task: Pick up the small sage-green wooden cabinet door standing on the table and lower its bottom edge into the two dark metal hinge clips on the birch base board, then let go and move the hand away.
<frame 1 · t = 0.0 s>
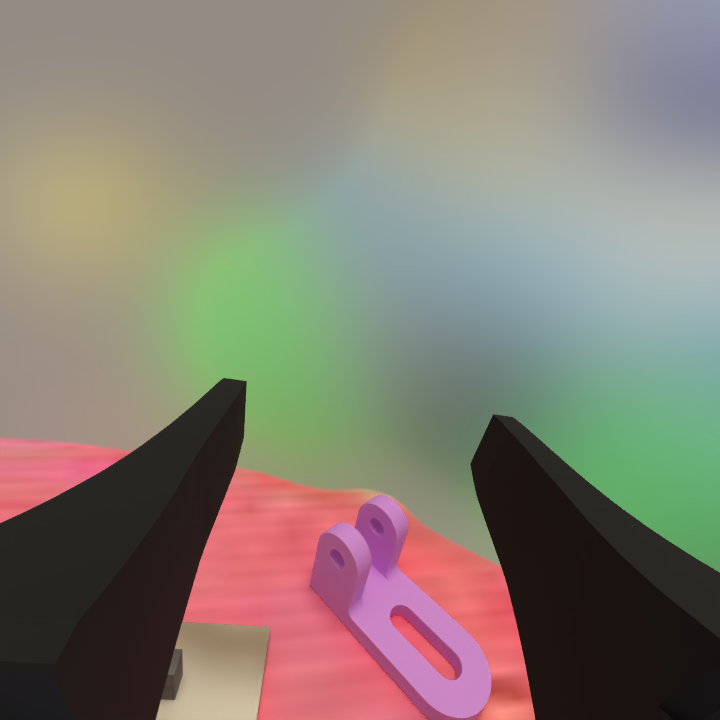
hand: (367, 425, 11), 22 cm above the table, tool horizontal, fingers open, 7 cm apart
bracket: (397, 631, 28), on the table
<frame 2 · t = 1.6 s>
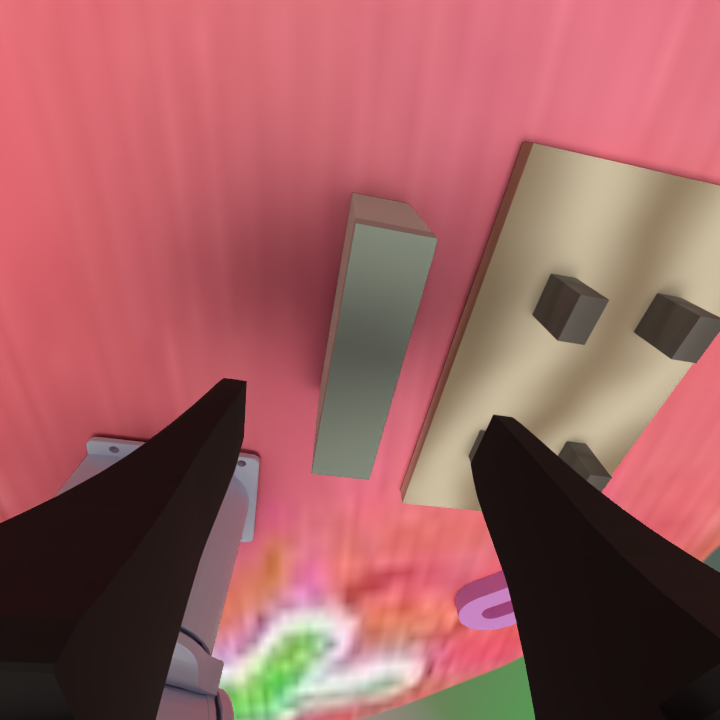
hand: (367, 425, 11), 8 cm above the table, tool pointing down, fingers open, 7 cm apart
door: (358, 307, 19), on the table
hinge base: (553, 375, 21), on the table
bracket: (529, 577, 32), on the table
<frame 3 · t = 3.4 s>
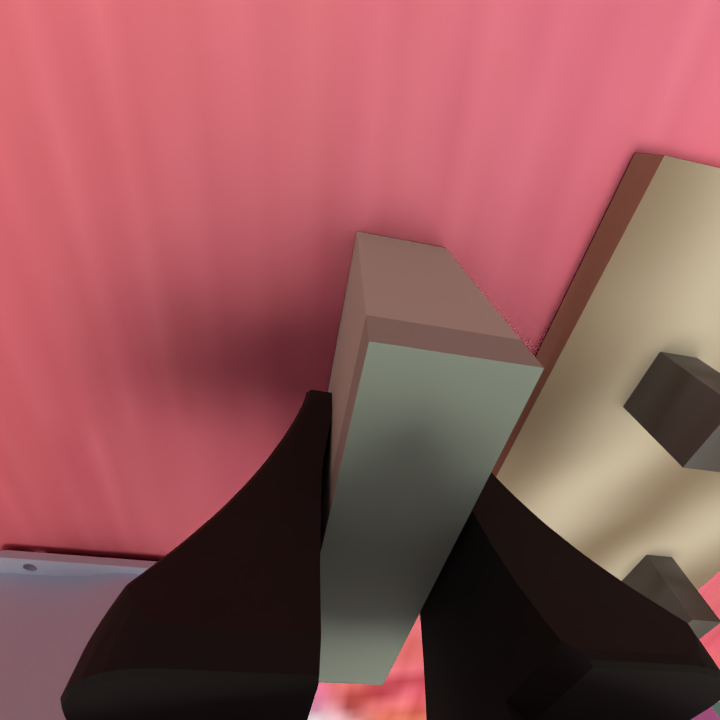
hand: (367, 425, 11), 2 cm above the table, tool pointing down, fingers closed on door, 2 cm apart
door: (365, 392, 13), on the table, touching gripper
hinge base: (633, 472, 15), on the table
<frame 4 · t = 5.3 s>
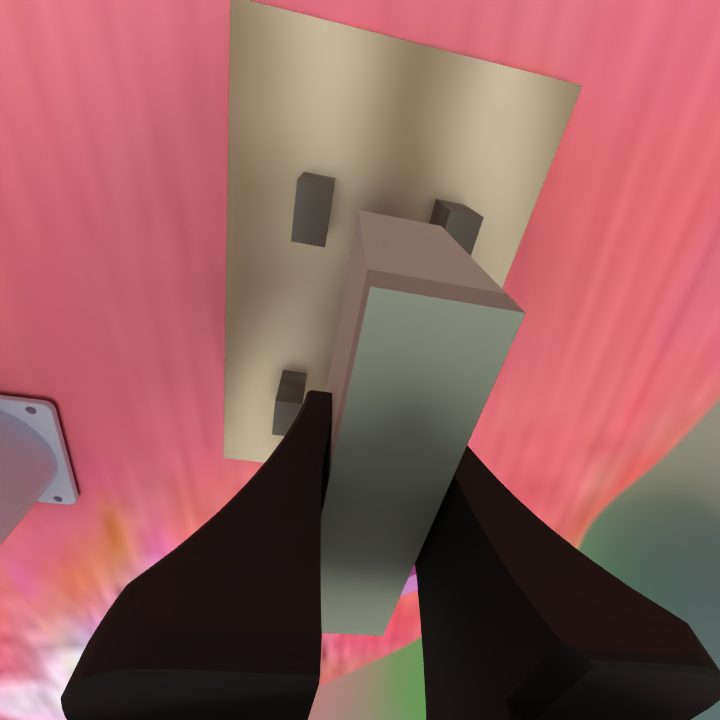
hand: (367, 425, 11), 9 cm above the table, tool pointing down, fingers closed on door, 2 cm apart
door: (365, 367, 13), point 6 cm above the table, touching gripper
hinge base: (359, 307, 19), on the table
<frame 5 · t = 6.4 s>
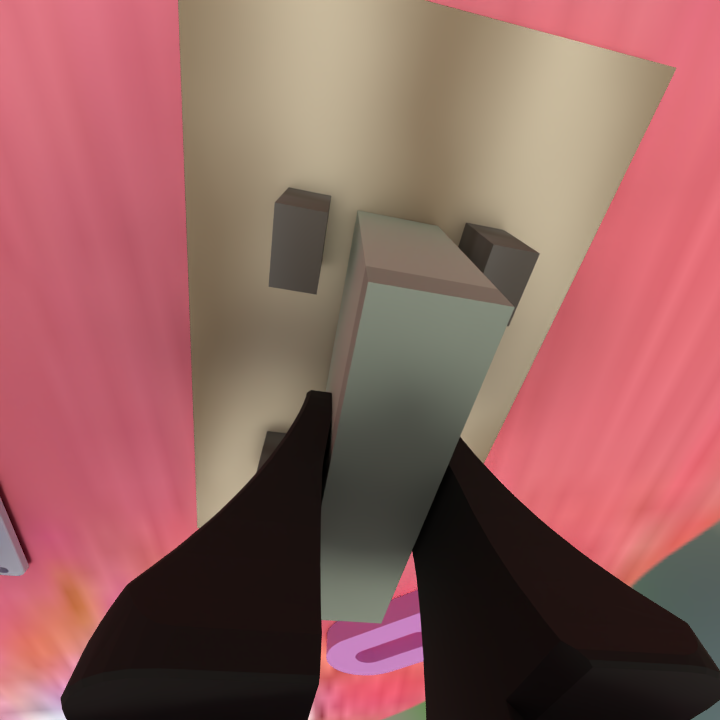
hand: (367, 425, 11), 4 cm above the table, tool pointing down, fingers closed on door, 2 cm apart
door: (364, 363, 14), point 1 cm above the table, touching gripper
hinge base: (362, 354, 15), on the table
bracket: (415, 611, 25), on the table
when the fingers open (4 cm above the table, at t = 7.0 s): door stays where it is, resting on hinge base.
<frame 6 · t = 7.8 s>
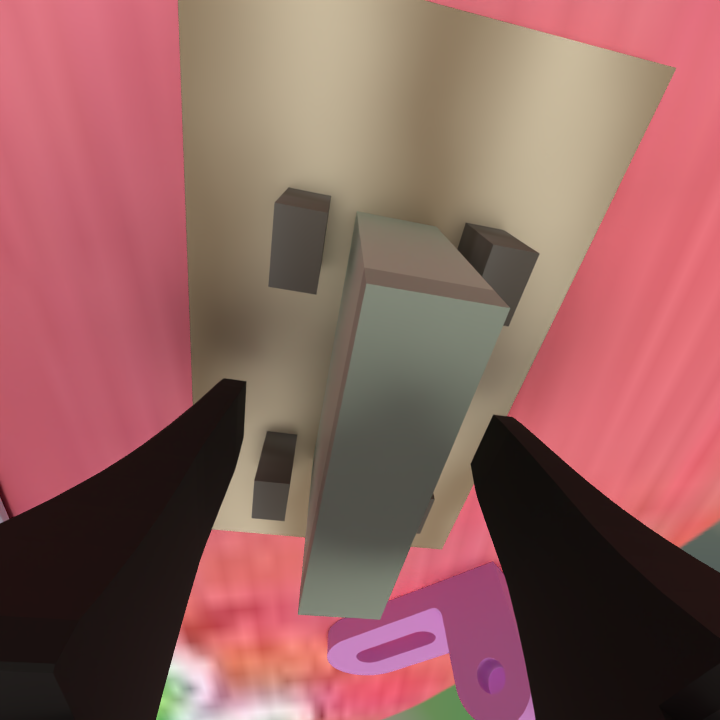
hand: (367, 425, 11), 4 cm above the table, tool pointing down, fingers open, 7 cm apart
door: (364, 363, 14), point 1 cm above the table, touching hinge base
hinge base: (362, 354, 15), on the table
bracket: (416, 611, 25), on the table
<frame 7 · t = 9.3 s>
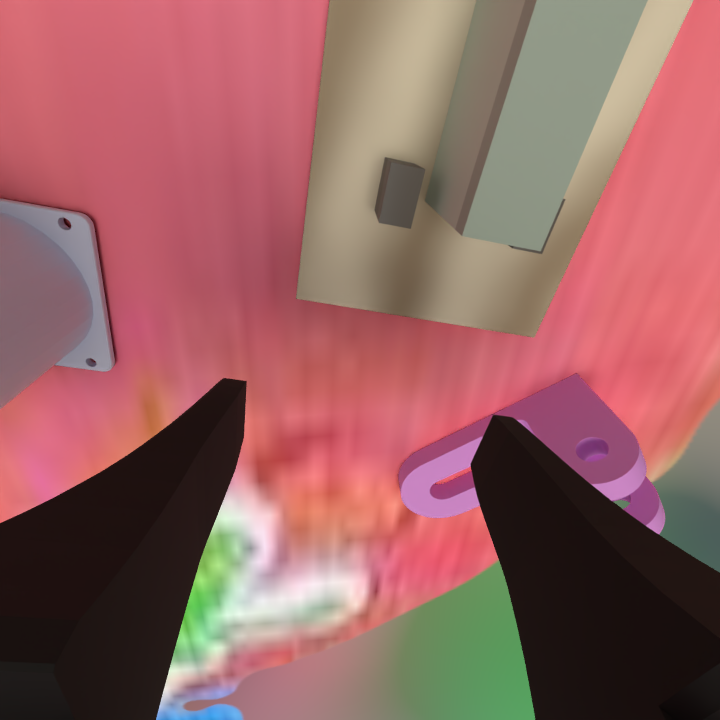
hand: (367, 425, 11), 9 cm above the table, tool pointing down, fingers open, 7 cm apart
door: (495, 59, 14), point 1 cm above the table, touching hinge base
hinge base: (485, 70, 15), on the table
bracket: (489, 447, 25), on the table
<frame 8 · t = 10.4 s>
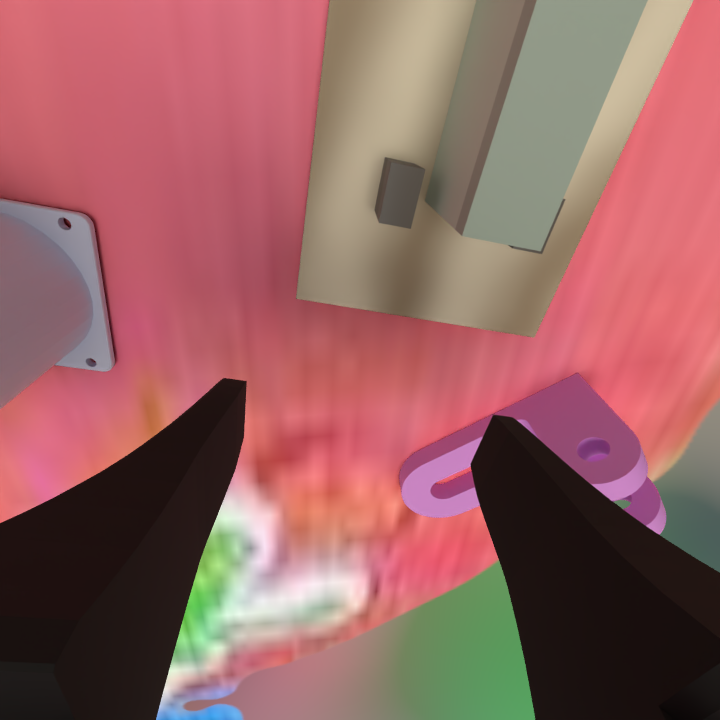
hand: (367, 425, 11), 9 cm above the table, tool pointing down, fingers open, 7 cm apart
door: (495, 59, 14), point 1 cm above the table, touching hinge base
hinge base: (485, 70, 15), on the table
bracket: (490, 447, 25), on the table
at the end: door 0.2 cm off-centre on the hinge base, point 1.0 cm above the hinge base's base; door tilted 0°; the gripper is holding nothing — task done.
